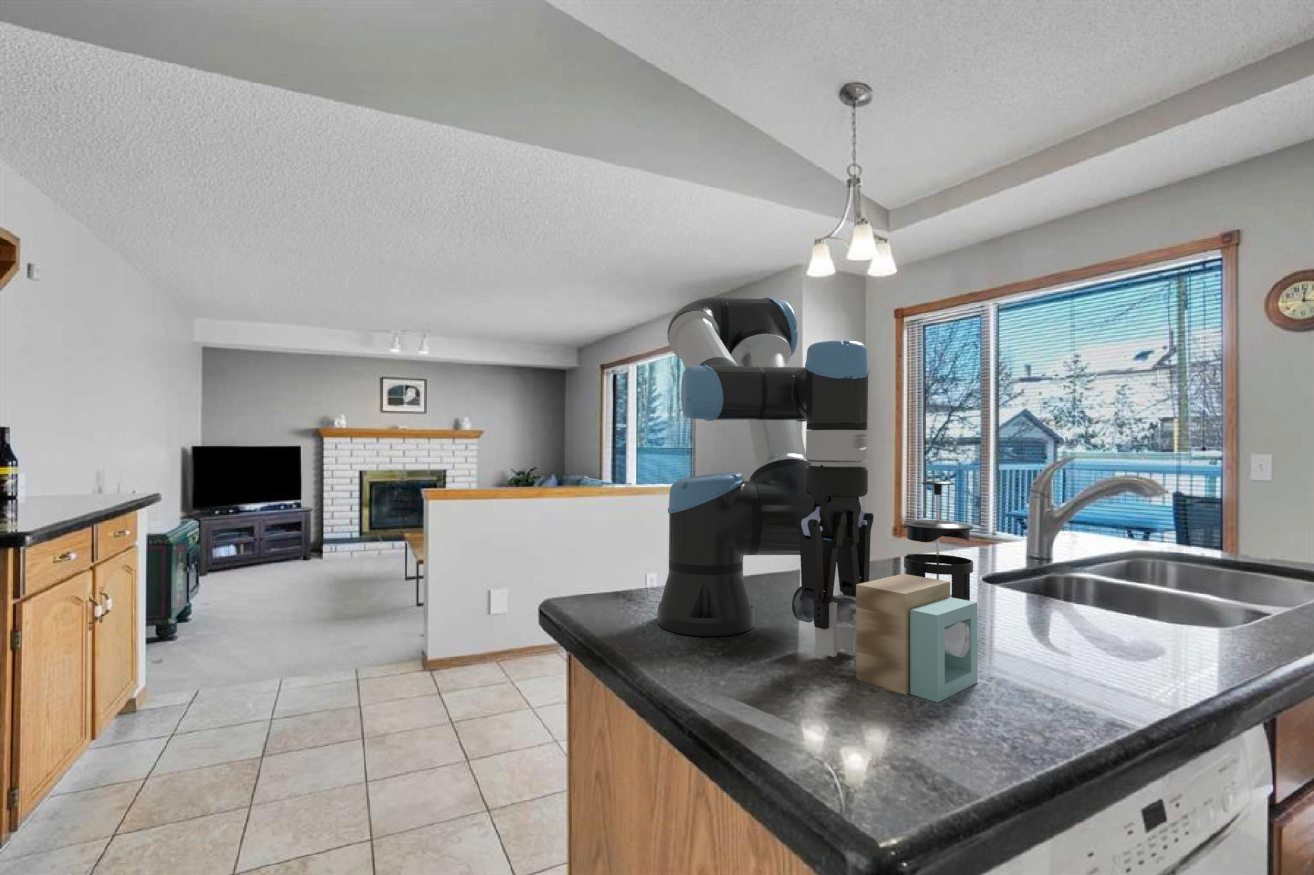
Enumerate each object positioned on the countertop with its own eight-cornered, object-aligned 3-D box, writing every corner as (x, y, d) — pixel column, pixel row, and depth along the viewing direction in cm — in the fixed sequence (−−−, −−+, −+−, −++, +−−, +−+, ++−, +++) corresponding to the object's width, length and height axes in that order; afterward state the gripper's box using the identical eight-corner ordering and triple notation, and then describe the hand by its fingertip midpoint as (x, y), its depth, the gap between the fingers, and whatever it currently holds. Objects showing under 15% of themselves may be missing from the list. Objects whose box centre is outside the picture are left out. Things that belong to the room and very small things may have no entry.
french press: (994, 654, 87) (993, 482, 87) (930, 659, 85) (930, 483, 85) (939, 630, 99) (939, 478, 99) (883, 633, 97) (882, 478, 97)
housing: (856, 690, 74) (856, 584, 74) (902, 670, 81) (902, 573, 81) (905, 706, 70) (905, 593, 70) (950, 684, 76) (950, 581, 76)
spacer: (910, 694, 70) (910, 609, 70) (951, 675, 75) (950, 597, 76) (937, 702, 67) (937, 615, 68) (977, 682, 73) (977, 602, 73)
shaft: (791, 623, 85) (791, 587, 85) (813, 617, 88) (813, 583, 88) (952, 666, 68) (952, 622, 69) (972, 657, 71) (972, 615, 71)
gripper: (821, 466, 74) (820, 672, 74) (899, 464, 85) (898, 644, 85) (770, 464, 80) (769, 656, 80) (849, 462, 91) (848, 631, 90)
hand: (836, 649), depth 82 cm, fingers closed on shaft, 4 cm apart
